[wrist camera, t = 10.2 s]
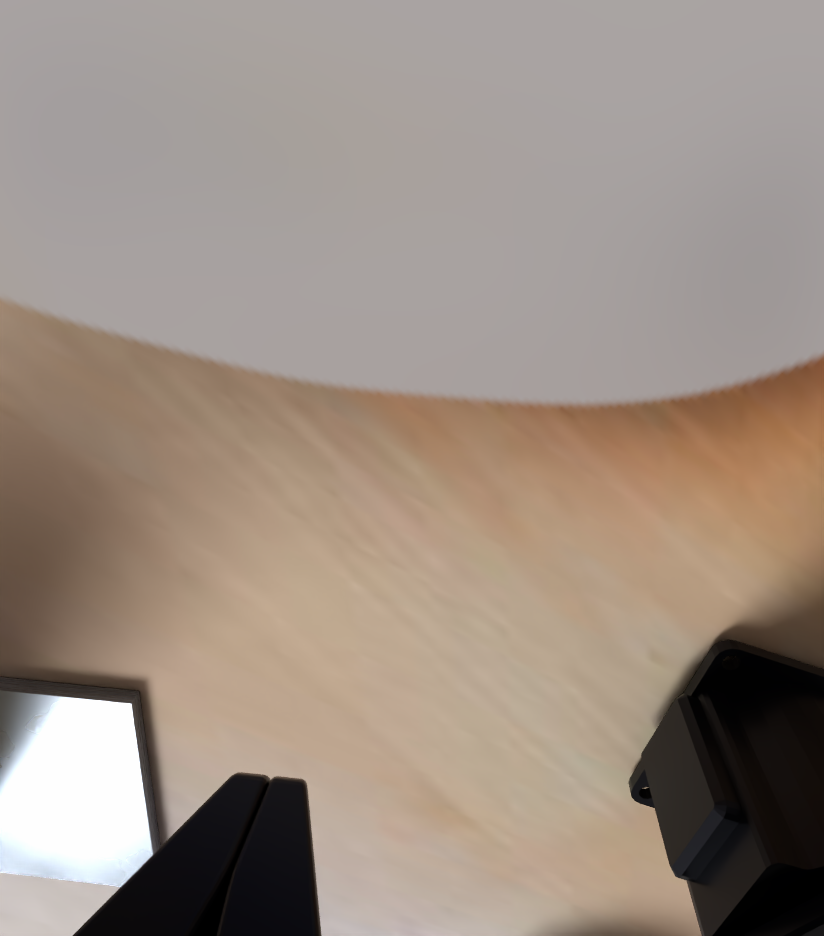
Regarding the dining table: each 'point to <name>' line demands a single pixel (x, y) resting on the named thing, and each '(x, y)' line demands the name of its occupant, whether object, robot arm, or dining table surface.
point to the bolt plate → (74, 783)
